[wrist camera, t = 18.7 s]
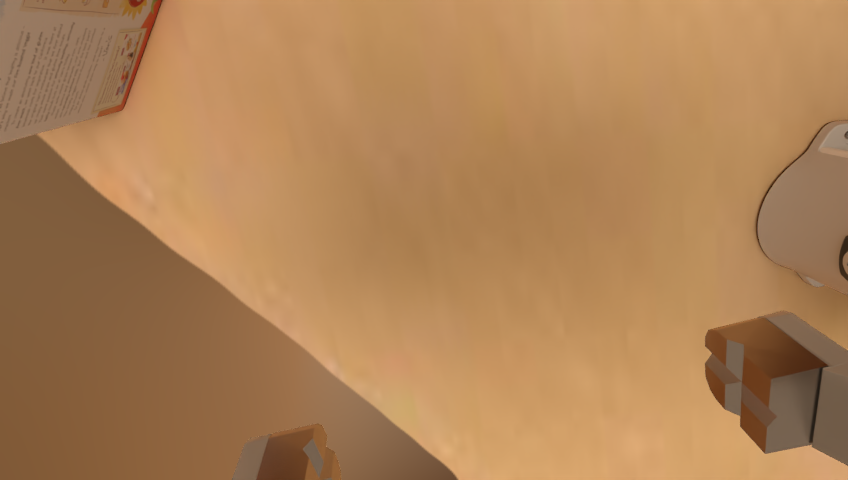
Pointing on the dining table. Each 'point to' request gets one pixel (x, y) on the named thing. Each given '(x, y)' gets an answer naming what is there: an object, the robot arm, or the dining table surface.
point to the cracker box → (67, 60)
